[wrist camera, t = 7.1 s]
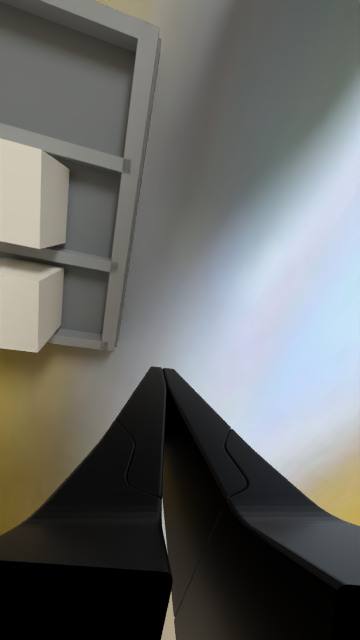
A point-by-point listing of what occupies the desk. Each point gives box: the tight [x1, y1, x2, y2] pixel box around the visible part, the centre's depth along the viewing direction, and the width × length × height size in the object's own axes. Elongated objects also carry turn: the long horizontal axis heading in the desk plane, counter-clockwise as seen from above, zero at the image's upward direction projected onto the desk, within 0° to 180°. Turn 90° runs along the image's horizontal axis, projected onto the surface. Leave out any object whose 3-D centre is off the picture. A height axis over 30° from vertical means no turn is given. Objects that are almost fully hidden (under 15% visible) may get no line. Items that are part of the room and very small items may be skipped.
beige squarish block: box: [0, 138, 70, 249], centre depth 11 cm, size 3×4×4 cm
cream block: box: [0, 257, 64, 353], centre depth 12 cm, size 3×4×4 cm
